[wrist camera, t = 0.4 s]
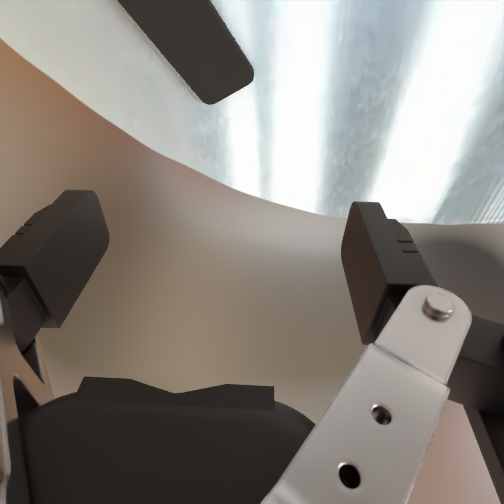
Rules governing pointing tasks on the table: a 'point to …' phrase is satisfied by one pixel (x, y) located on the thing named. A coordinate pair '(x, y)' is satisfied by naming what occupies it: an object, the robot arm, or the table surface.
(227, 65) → the phone
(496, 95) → the table surface
